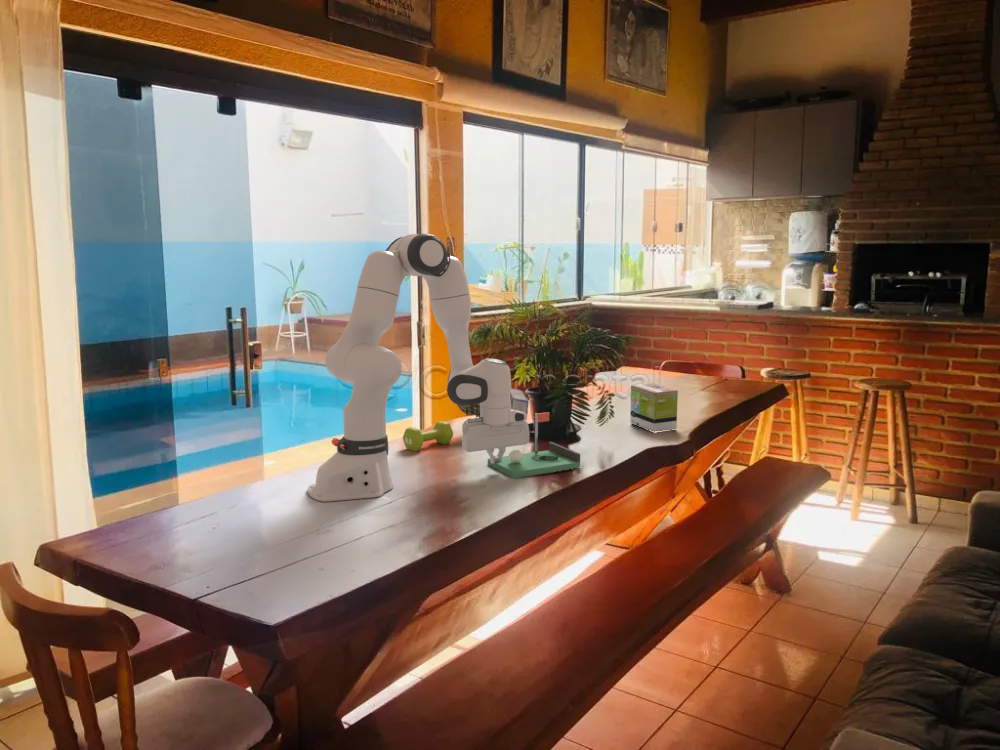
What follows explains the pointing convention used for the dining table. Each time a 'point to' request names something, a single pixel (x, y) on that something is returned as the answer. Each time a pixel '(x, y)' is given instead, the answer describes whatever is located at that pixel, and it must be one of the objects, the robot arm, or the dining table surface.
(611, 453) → the dining table surface
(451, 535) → the dining table surface
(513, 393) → the potted plant
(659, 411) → the tea box
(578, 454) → the mat
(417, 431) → the dumbbell
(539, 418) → the flag pin
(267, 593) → the dining table surface
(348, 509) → the dining table surface
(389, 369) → the robot arm
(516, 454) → the ball
